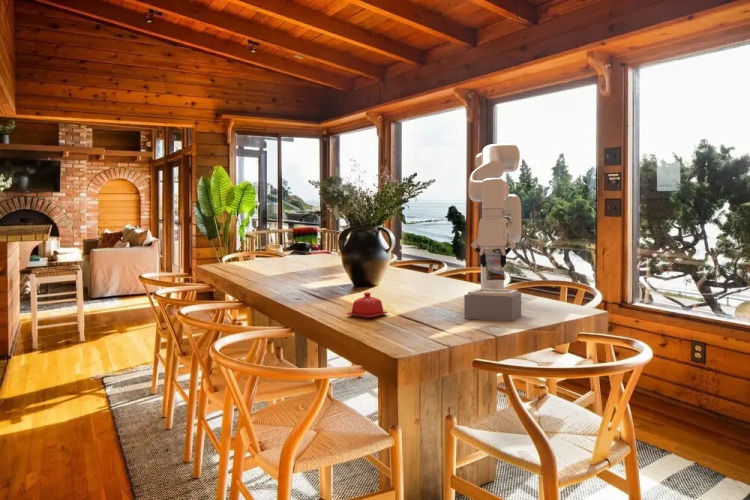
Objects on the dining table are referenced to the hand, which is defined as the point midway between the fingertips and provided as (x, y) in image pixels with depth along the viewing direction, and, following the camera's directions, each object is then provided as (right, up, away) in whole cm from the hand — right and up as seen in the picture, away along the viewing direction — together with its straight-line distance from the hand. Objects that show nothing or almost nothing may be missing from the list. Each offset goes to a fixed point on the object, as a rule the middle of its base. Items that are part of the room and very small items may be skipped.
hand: (493, 266), depth 189 cm
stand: (0, -17, 0) cm, 17 cm away
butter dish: (-43, -18, +6) cm, 47 cm away
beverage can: (0, -6, 0) cm, 6 cm away
